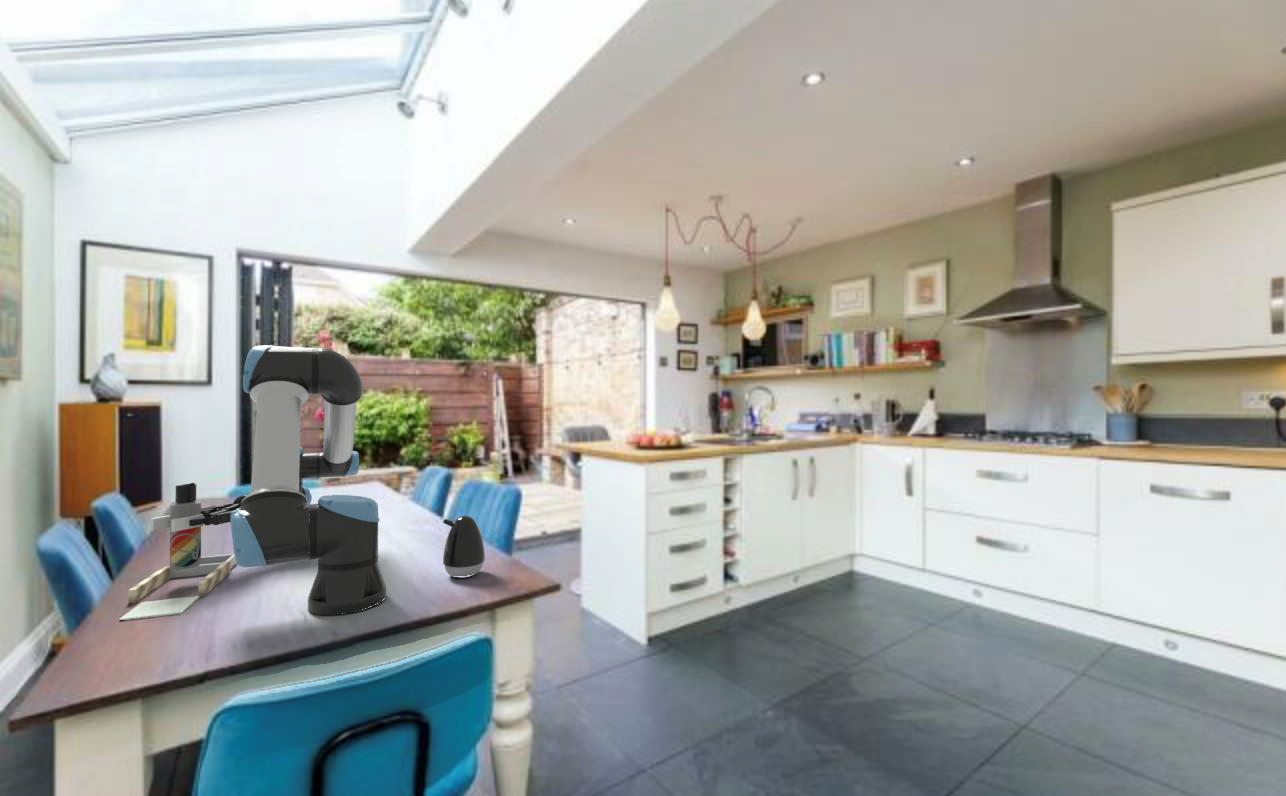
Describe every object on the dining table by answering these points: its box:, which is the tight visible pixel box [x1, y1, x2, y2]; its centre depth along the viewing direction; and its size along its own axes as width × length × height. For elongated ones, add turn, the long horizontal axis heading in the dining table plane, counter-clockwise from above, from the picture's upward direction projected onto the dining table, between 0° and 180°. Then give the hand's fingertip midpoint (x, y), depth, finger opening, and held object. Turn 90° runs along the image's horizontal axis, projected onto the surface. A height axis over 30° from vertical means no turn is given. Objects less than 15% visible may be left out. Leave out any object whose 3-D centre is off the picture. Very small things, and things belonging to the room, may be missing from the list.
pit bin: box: [170, 553, 238, 579], centre depth 139 cm, size 9×12×2 cm
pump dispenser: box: [442, 515, 486, 577], centre depth 137 cm, size 10×10×15 cm
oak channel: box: [127, 561, 231, 604], centre depth 127 cm, size 18×13×3 cm
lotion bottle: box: [169, 482, 202, 570], centre depth 128 cm, size 6×6×20 cm
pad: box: [118, 595, 201, 621], centre depth 114 cm, size 10×10×1 cm
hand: (162, 525), depth 123 cm, fingers closed on lotion bottle, 5 cm apart
